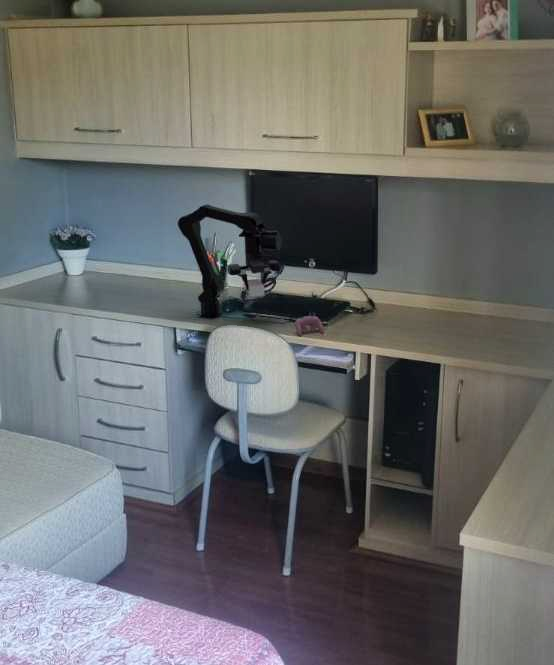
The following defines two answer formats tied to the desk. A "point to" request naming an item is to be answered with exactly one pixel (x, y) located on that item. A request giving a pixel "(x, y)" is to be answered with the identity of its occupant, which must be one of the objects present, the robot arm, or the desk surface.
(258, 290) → the card deck box
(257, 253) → the robot arm
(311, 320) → the video game controller
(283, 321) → the desk mat
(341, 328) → the desk surface
